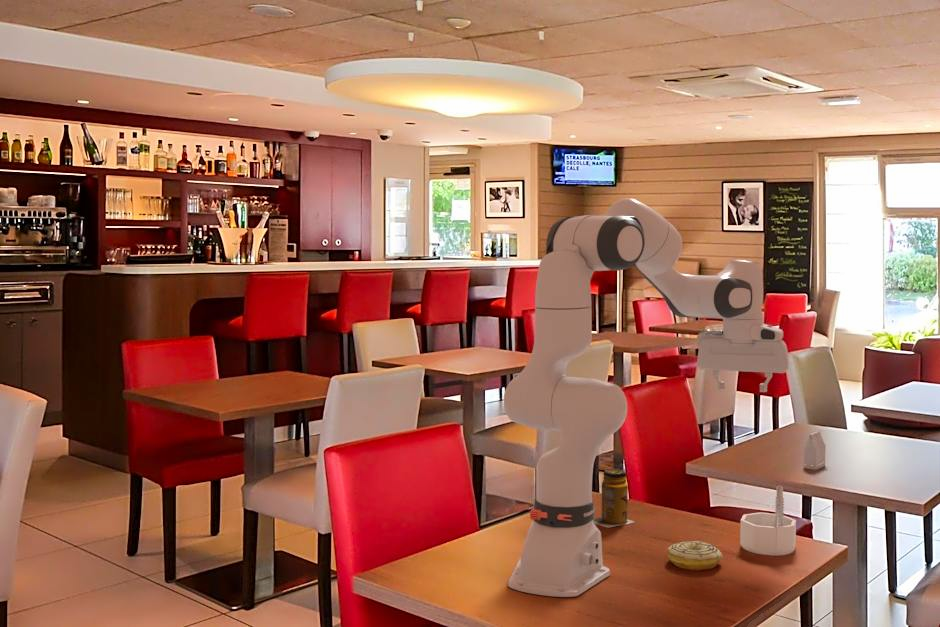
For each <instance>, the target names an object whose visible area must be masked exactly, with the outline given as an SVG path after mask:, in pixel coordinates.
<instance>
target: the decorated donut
mask: <svg viewBox="0 0 940 627" xmlns="http://www.w3.org/2000/svg"><path fill="white" fill-rule="evenodd" d="M667 556H668V559H669V561H670V562H671V563H672V564H673V565H674V566H675V567H677V568H680V569H683V570H690V571H704V570H711V569H714V568H715V567H716V566H717V565H718V564H719V562H720V560H722V559H723V554H722V552H721V551H720V550H719V549H718V548H717V547H716V546H714V545H713V544H710V543H707V542H705V541H699V540H694V541H693V540H689V541H680V542H677V543H673V544H672V545H670V546H669V547H668V548H667Z"/></svg>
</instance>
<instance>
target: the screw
mask: <svg viewBox="0 0 940 627" xmlns="http://www.w3.org/2000/svg"><path fill="white" fill-rule="evenodd" d="M784 500H785V498H784V487H783V486H782V485H781V484H780V485H778V486H776V496H775V502H774V503H775V505H774V506H775V507H774V508H775V510H774V514H776V516H775V517H776V518H775V527H780V526H783V524H784V523H783V522H784V520H783V519H784V518H783V516H785V515H784V514H785V512H784V511H785V509H784V508H785V506H784V505H785V501H784Z"/></svg>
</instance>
